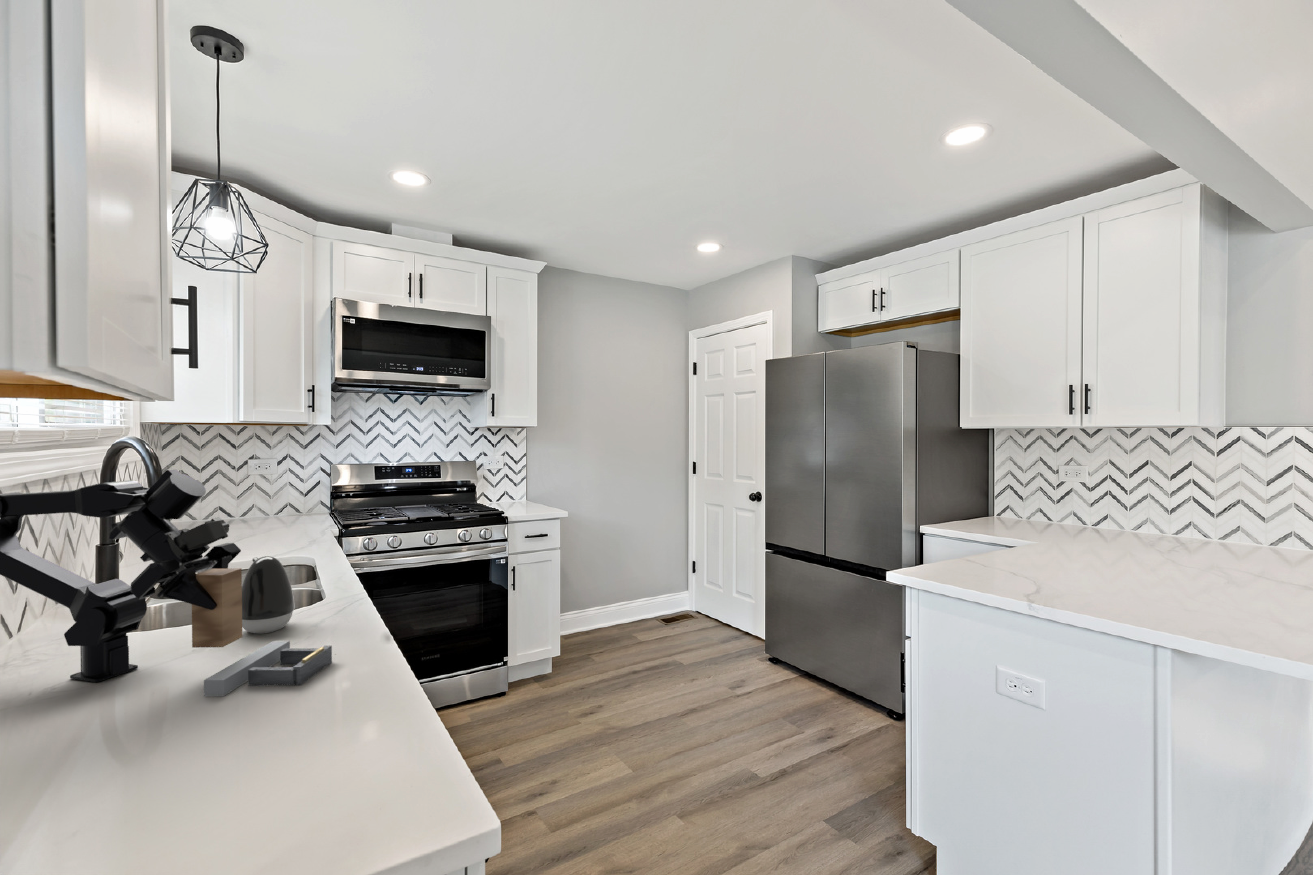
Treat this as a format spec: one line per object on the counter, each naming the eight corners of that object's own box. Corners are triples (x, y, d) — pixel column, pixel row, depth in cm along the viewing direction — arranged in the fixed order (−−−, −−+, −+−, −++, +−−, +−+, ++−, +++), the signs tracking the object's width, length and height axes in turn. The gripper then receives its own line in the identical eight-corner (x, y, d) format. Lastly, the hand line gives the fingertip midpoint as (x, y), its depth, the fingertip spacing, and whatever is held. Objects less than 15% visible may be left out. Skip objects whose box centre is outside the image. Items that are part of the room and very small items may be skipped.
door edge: (203, 696, 97) (203, 680, 97) (273, 654, 115) (273, 640, 115) (223, 696, 97) (223, 680, 97) (289, 654, 115) (289, 640, 115)
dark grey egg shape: (280, 618, 136) (280, 549, 136) (303, 627, 130) (303, 555, 130) (227, 631, 128) (227, 557, 128) (249, 641, 122) (248, 563, 122)
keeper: (248, 685, 101) (248, 664, 101) (284, 662, 111) (284, 643, 111) (300, 685, 101) (300, 664, 101) (331, 662, 111) (331, 643, 111)
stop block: (192, 647, 103) (191, 575, 103) (213, 637, 108) (212, 568, 108) (222, 647, 103) (221, 575, 103) (242, 637, 108) (241, 568, 108)
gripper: (148, 512, 96) (221, 583, 97) (229, 498, 115) (290, 558, 115) (97, 563, 96) (170, 634, 97) (186, 541, 115) (248, 600, 115)
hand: (225, 603), depth 106 cm, fingers closed on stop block, 5 cm apart
